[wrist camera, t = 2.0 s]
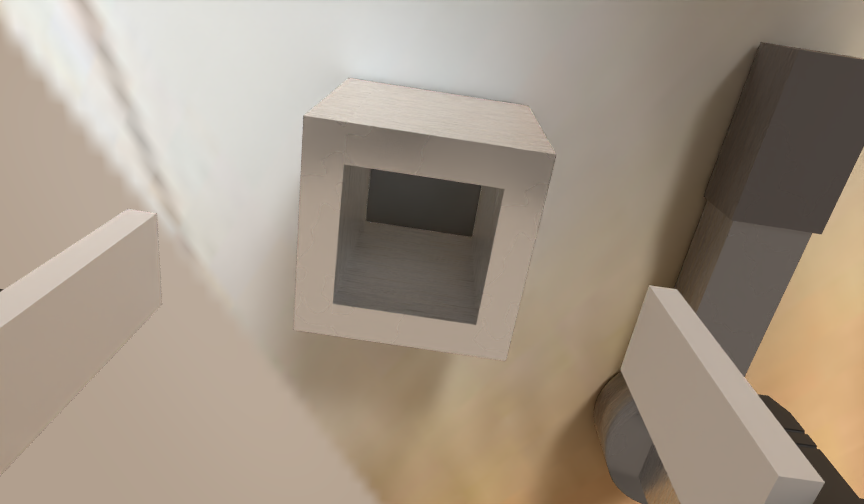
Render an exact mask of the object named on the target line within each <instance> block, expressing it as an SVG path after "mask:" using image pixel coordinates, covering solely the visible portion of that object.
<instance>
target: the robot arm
mask: <svg viewBox="0 0 864 504" xmlns="http://www.w3.org/2000/svg"><path fill="white" fill-rule="evenodd" d="M161 292H162V291H161V275H160V258H159V241H158V224H157V213H151V212H145V211H138V210H131V209H127V210H125V211H124V212H122V213H120V214H119V215H117V216H116V217H114V218H113V219H111V220H110V221H108V222H107V223H105V224H104V225H102V226H101V227H99V228H98V229H96V230H94V231H93V232H91V233H90V234H88V235H87V236H85V237H84V238H82V239H81V240H79V241H78V242H76V243H74V244H73V245H71V246H70V247H69V248H67V249H66V250H64V251H62V252H61V253H59V254H58V255H56V256H55V257H53V258H52V259H50V260H48V261H47V262H46V263H44V264H42V265H41V266H39V267H38V268H36V269H35V270H33V271H32V272H30V273H29V274H27V275H26V276H24V277H22V278H21V279H19V280H18V281H16V282H15V283H13V284H12V285H10V286H9V287H7V288H6V289H0V476H1V475H2V474H3V473H4V471H6V469H7V468H8V467H9V466H10V465H11V464H12V463H13V462H14V461H15V460H16V459H17V458H18V457H19V456H20V455H21V454H22V453H23V451H24V450H25V449H26V448H27V447H28V446H29V445H30V444H31V443H32V442H33V441H34V440H35V439H36V438H37V437H38V436H39V435H40V434H41V432H42V431H43V430H44V429H45V428H46V427H47V426H48V425H49V424H50V423H51V422H52V421H53V420H54V419H55V418H56V417H57V415H58V414H59V413H60V412H61V411H62V410H63V409H64V408H65V407H66V406H67V405H68V404H69V403H70V402H71V401H72V400H73V398H74V397H75V396H76V395H77V394H78V393H79V392H80V391H81V390H82V389H83V388H84V387H85V386H86V385H87V384H88V383H89V382H90V380H91V379H92V378H93V377H94V376H95V375H96V374H97V373H98V372H99V371H100V370H101V369H102V368H103V367H104V366H105V365H106V364H107V363H108V361H109V360H110V359H111V358H112V357H113V356H114V355H115V354H116V353H117V352H118V351H119V350H120V349H121V348H122V347H123V346H124V344H125V343H126V342H127V341H128V340H129V339H130V338H131V337H132V336H133V335H134V334H135V333H136V332H137V331H138V330H139V329H140V328H141V327H142V325H143V324H144V323H145V322H146V321H147V320H148V319H149V318H150V317H151V316H152V315H153V314H154V313H155V312H156V311H157V310H158V308H159V307H160V306H161V305H162V293H161ZM620 370H621V372H622V374H623V377H624V379H625V381H626V383H627V386H628V388H629V390H630V392H631V394H632V397H633V399H634V401H635V403H636V406H637V408H638V410H639V412H640V414H641V417H642V419H643V421H644V423H645V426H646V428H647V430H648V432H649V434H650V437H651V439H652V441H653V443H654V446H655V448H656V450H657V452H658V455H659V457H660V459H661V461H662V463H663V466H664V468H665V470H666V472H667V475H668V477H669V479H670V481H671V483H672V486H673V488H674V490H675V492H676V495H677V497H678V499H679V501H680V504H864V499H861V498H859V497H858V496H857V495H856V493H855V492H854V491H853V490H852V489H851V487H850V486H849V485H848V484H847V482H846V481H845V480H844V479H843V477H842V476H841V475H840V474H839V473H838V471H837V470H836V469H835V468H834V466H833V465H832V464H831V463H830V461H829V460H828V459H827V458H826V456H825V455H824V454H823V453H822V452H821V450H819V449H817V445H816V444H815V443H814V442H813V440H812V439H811V438H810V437H809V435H808V434H805V433H804V432H805V431H804V429H803V428H802V427H801V426H800V424H799V423H798V422H797V421H796V419H795V418H794V417H793V416H792V415H791V413H790V412H788V411H787V410H786V409H785V408H783V407H782V406H781V405H779V404H778V403H777V402H776V401H774V400H773V399H772V398H770V397H769V396H766V395H759V394H757V393H756V392H755V390H754V389H753V388H752V387H751V385H750V384H749V383H748V381H747V380H746V379H745V377H744V376H743V375H742V374H741V372H740V371H739V370H738V368H737V367H736V366H735V364H734V363H733V362H732V360H731V359H730V358H729V357H728V355H727V354H726V353H725V351H724V350H723V349H722V347H721V346H720V345H719V343H718V342H717V341H716V340H715V338H714V337H713V336H712V334H711V333H710V332H709V330H708V329H707V328H706V327H705V325H704V324H703V323H702V321H701V320H700V319H699V317H698V316H697V315H696V313H695V312H694V311H693V310H692V308H691V307H690V306H689V304H688V303H687V302H686V300H685V299H684V298H683V296H682V295H681V294H680V293H679V291H678V290H677V289H672V288H665V287H658V286H651V285H649V287H648V290H647V293H646V296H645V298H644V301H643V304H642V307H641V310H640V313H639V316H638V319H637V322H636V325H635V328H634V331H633V333H632V336H631V339H630V342H629V345H628V348H627V351H626V354H625V357H624V360H623V363H622V366H621V369H620Z"/></svg>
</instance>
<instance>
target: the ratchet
mask: <svg viewBox="0 0 864 504" xmlns="http://www.w3.org/2000/svg"><path fill="white" fill-rule="evenodd" d="M863 147H864V59H862V58H857V57H851V56H845V55H838V54H832V53H826V52H820V51H813V50H807V49H801V48H795V47H788V46H782V45H776V44H770V43H763V42H761V43H760V46H759V48H758V51H757V54H756V57H755V59H754V62H753V65H752V67H751V70H750V73H749V75H748V78H747V81H746V83H745V86H744V89H743V92H742V94H741V97H740V100H739V102H738V105H737V108H736V110H735V113H734V116H733V119H732V121H731V124H730V127H729V129H728V132H727V135H726V137H725V140H724V143H723V146H722V148H721V151H720V154H719V156H718V159H717V162H716V164H715V167H714V170H713V173H712V175H711V178H710V181H709V183H708V186H707V189H706V191H705V194H704V197H705V198H706V199H707V202H706V205H705V208H704V210H703V213H702V216H701V218H700V221H699V224H698V226H697V229H696V232H695V234H694V237H693V240H692V242H691V245H690V248H689V250H688V253H687V256H686V258H685V261H684V264H683V266H682V269H681V272H680V274H679V277H678V280H677V282H676V285H675V288H674V289H677V290H678V291H679V293H680V294H681V295H682V296H683V298H684V299H685V300H686V302H687V303H688V304H689V306H690V307H691V308H692V310H693V311H694V312H695V313H696V315H697V316H698V317H699V319H700V320H701V321H702V323H703V324H704V325H705V327H706V328H707V329H708V330H709V332H710V333H711V334H712V336H713V337H714V338H715V340H716V341H717V342H718V343H719V345H720V346H721V347H722V349H723V350H724V351H725V353H726V354H727V355H728V357H729V358H730V359H731V360H732V362H733V363H734V364H735V366H736V367H737V368H738V370H739V371H740V372H741V374H742V375H743V376H744V377H745V375H746V373H747V370H748V368H749V366H750V364H751V362H752V360H753V358H754V356H755V353H756V351H757V349H758V347H759V345H760V343H761V341H762V339H763V337H764V334H765V332H766V330H767V328H768V326H769V324H770V322H771V320H772V317H773V315H774V313H775V311H776V309H777V307H778V305H779V303H780V300H781V298H782V296H783V294H784V292H785V290H786V288H787V286H788V283H789V281H790V279H791V277H792V275H793V273H794V271H795V269H796V267H797V264H798V262H799V260H800V258H801V256H802V254H803V252H804V250H805V247H806V245H807V243H808V241H809V239H810V237H811V235H812V233H817V234H822V232H823V230H824V228H825V226H826V224H827V222H828V220H829V217H830V215H831V213H832V211H833V209H834V207H835V205H836V203H837V201H838V199H839V197H840V195H841V192H842V190H843V188H844V186H845V184H846V182H847V180H848V178H849V176H850V174H851V172H852V169H853V167H854V165H855V163H856V161H857V159H858V157H859V155H860V153H861V151H862V149H863ZM594 423H595V427H596V430H597V434H598V437H599V440H600V443H601V447H602V450H603V453H604V456H605V460H606V463H607V466H608V469H609V473H610V475H611V478H612V480H613V482H614V483H615V484H616V486H617V487H618V488H619V489H620V490H621V491H622V492H623V493H624V494H625V495H627V496H628V497H630V498H631V499H633V500H635V501H637V502H640V503H642V504H680V501H679V499H678V497H677V495H676V492H675V490H674V488H673V486H672V483H671V481H670V479H669V477H668V475H667V472H666V470H665V468H664V466H663V463H662V461H661V459H660V457H659V455H658V452H657V450H656V448H655V446H654V443H653V441H652V439H651V437H650V434H649V432H648V430H647V428H646V426H645V423H644V421H643V419H642V417H641V414H640V412H639V410H638V408H637V406H636V403H635V401H634V399H633V397H632V394H631V392H630V390H629V388H628V386H627V383H626V381H625V379H624V377H623V374H622V372H620V373H618V374H617V375H616V376H614V377H613V378H612V379H611V380H610V381H609V382H608V383H607V384H606V385H605V387H604V388H603V389H602V391H601V392H600V394H599V396H598V398H597V400H596V403H595V407H594Z"/></svg>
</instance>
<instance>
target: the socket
mask: <svg viewBox="0 0 864 504" xmlns="http://www.w3.org/2000/svg"><path fill="white" fill-rule="evenodd" d="M555 158H556V153H555V151H554V149H553V148H552V146H551V144H550V142H549V141H548V139H547V137H546V135H545V134H544V132H543V130H542V128H541V127H540V125H539V123H538V122H537V120H536V118H535V116H534V115H533V113H532V111H531V109H530V108H529V106H527V105H520V104H514V103H507V102H501V101H495V100H488V99H482V98H475V97H469V96H462V95H456V94H450V93H443V92H437V91H430V90H424V89H418V88H411V87H405V86H398V85H392V84H385V83H379V82H373V81H366V80H360V79H353V78H348V79H347V80H346V81H344V82H343V83H342V84H341V85H340V86H338V87H337V88H336V89H335V90H333V91H332V92H331V93H330V94H329V95H327V96H326V97H325V98H324V99H323V100H321V101H320V102H319V103H318V104H317V105H315V106H314V107H313V108H312V109H311V110H309V111H308V112H307V113H306V114H305V115H303V136H302V158H301V179H300V200H299V222H298V243H297V264H296V286H295V307H294V328H293V330H296V331H303V332H310V333H317V334H324V335H331V336H337V337H344V338H351V339H358V340H365V341H372V342H379V343H385V344H392V345H399V346H406V347H413V348H420V349H427V350H433V351H440V352H447V353H454V354H461V355H468V356H475V357H481V358H488V359H495V360H502V361H506V359H507V355H508V351H509V346H510V342H511V338H512V334H513V330H514V326H515V322H516V318H517V314H518V310H519V305H520V301H521V297H522V293H523V289H524V285H525V281H526V277H527V273H528V269H529V265H530V260H531V256H532V252H533V248H534V244H535V240H536V236H537V232H538V228H539V224H540V220H541V215H542V211H543V207H544V203H545V199H546V195H547V191H548V187H549V183H550V179H551V175H552V170H553V166H554V162H555ZM371 169H377V170H384V171H390V172H397V173H404V174H410V175H417V176H423V177H430V178H436V179H443V180H449V181H456V182H463V183H469V184H476V185H482V187H481V192H480V197H479V202H478V207H477V213H476V218H475V223H474V228H473V234H472V237H469V236H462V235H456V234H449V233H442V232H436V231H429V230H422V229H416V228H409V227H402V226H396V225H389V224H382V223H376V222H369V221H366V213H367V203H368V193H369V184H370V174H371Z"/></svg>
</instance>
